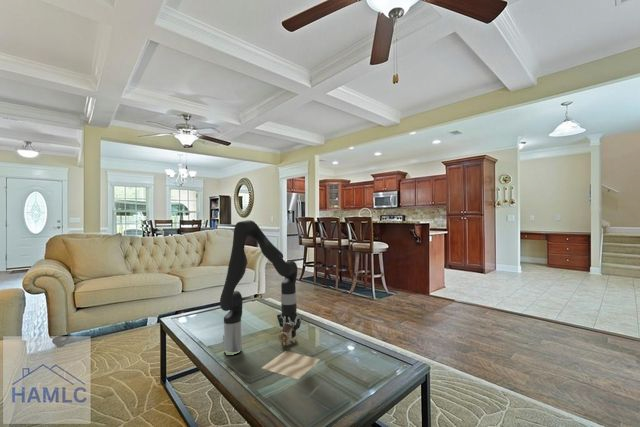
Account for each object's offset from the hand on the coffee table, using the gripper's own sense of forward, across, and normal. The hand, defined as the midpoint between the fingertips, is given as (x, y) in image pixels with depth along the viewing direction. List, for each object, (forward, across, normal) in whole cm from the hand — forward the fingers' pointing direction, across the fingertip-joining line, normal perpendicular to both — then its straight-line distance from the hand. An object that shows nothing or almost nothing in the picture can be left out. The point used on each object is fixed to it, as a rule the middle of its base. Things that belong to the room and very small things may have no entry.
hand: (289, 336), depth 142 cm
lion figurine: (+15, -16, +19) cm, 29 cm away
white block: (+1, 0, +4) cm, 4 cm away
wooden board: (+15, -1, +2) cm, 15 cm away
